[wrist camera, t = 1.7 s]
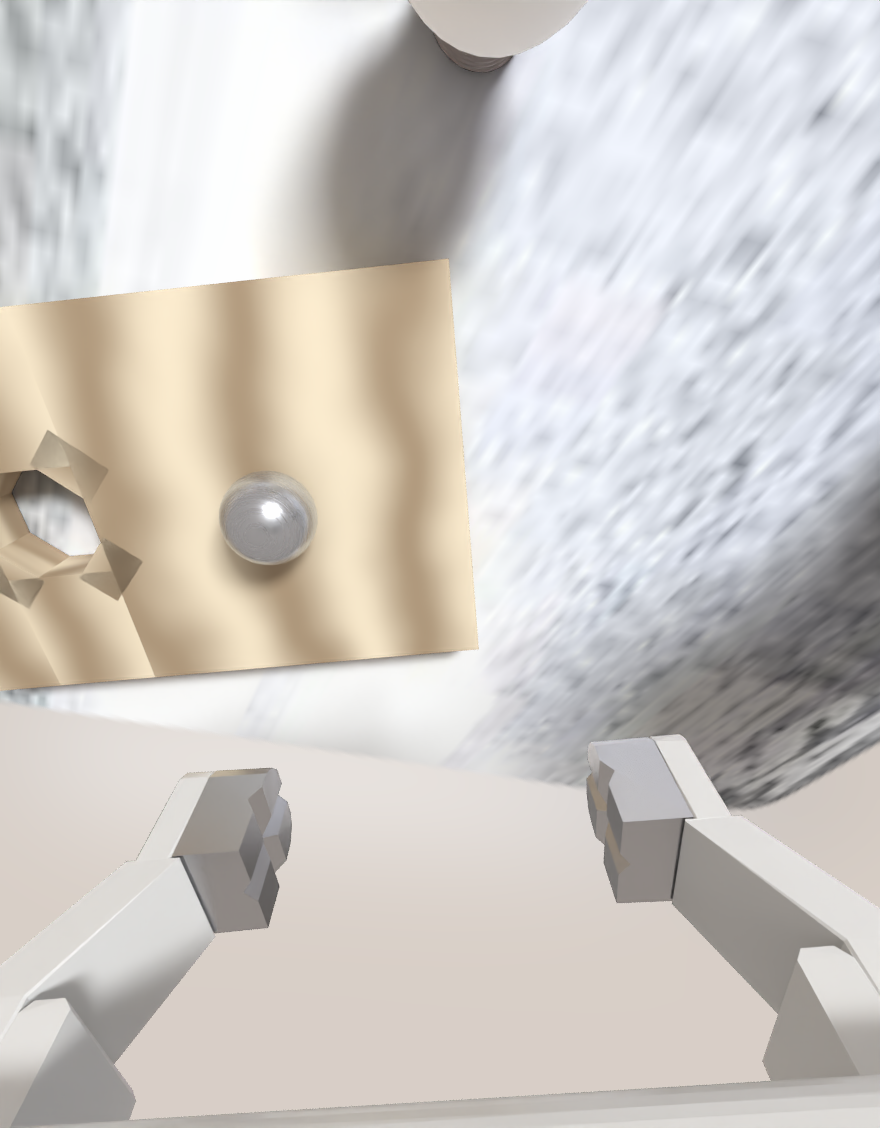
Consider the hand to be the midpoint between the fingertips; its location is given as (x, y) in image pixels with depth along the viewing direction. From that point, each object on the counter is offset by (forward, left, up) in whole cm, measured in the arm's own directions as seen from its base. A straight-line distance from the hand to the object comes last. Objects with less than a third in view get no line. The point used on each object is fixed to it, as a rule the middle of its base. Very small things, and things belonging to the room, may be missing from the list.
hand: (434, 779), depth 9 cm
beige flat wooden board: (+11, 0, -19) cm, 22 cm away
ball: (+7, 0, -15) cm, 16 cm away
